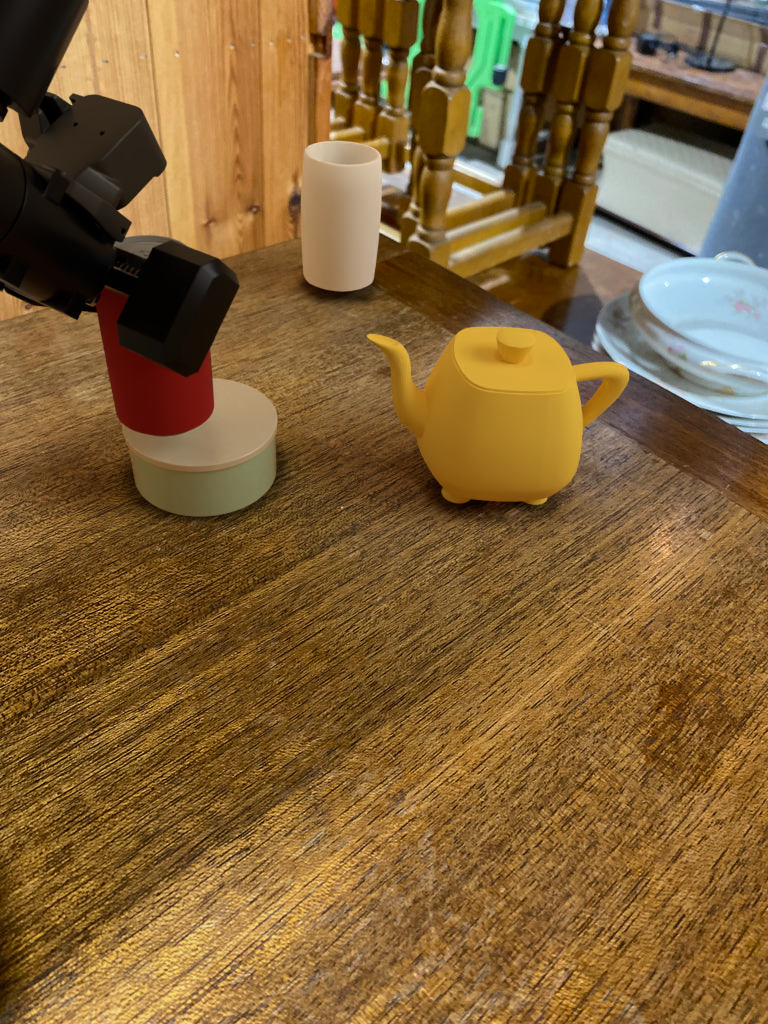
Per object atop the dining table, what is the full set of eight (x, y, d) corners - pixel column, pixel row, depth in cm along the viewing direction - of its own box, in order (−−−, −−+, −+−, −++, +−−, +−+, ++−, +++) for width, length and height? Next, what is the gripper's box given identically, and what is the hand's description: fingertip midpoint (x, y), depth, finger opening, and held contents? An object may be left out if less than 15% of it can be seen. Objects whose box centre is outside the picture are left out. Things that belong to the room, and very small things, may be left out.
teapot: (357, 418, 68) (364, 286, 60) (579, 425, 70) (616, 297, 62) (360, 522, 58) (370, 380, 50) (619, 527, 60) (670, 391, 52)
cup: (329, 310, 83) (333, 172, 74) (285, 279, 88) (283, 146, 78) (391, 291, 87) (402, 159, 78) (346, 263, 92) (351, 135, 82)
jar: (104, 500, 58) (92, 447, 55) (170, 417, 67) (163, 366, 63) (249, 532, 57) (245, 479, 54) (297, 443, 65) (297, 392, 62)
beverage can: (228, 398, 57) (217, 238, 49) (196, 452, 52) (179, 284, 44) (140, 384, 58) (115, 224, 50) (100, 436, 53) (65, 267, 45)
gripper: (199, 89, 34) (339, 256, 48) (-70, 14, 41) (124, 180, 55) (87, 321, 34) (260, 418, 48) (-162, 207, 41) (55, 322, 55)
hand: (171, 325), depth 52 cm, fingers closed on beverage can, 7 cm apart
